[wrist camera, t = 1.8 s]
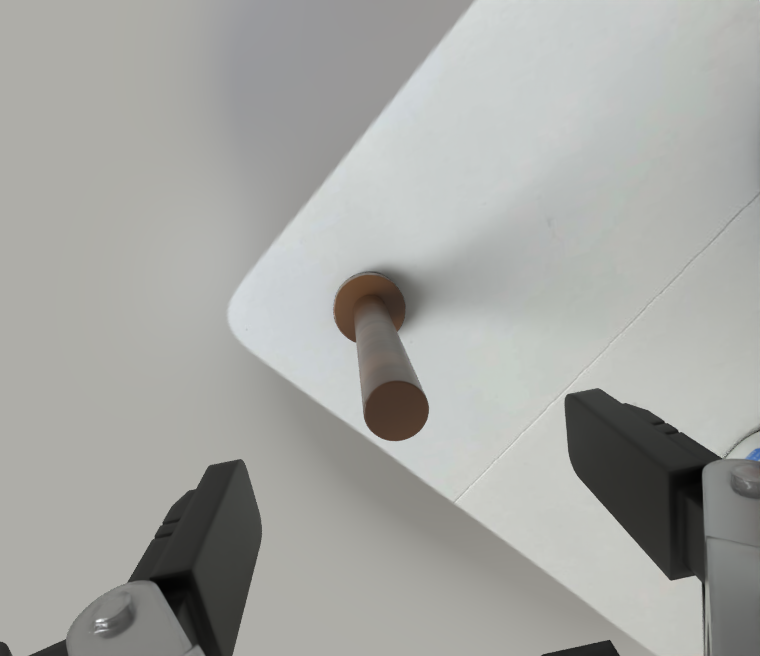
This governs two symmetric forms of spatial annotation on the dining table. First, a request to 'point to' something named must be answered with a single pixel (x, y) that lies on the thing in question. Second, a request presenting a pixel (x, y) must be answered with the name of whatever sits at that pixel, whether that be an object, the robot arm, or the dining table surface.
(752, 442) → the supplement tub
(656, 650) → the dining table surface
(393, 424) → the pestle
